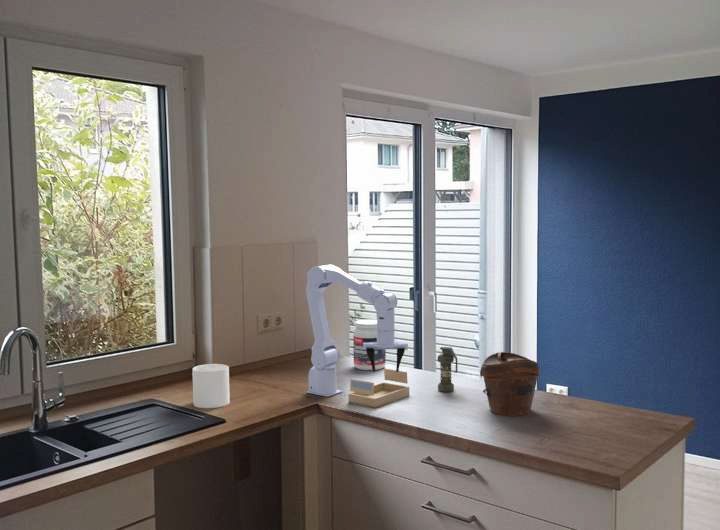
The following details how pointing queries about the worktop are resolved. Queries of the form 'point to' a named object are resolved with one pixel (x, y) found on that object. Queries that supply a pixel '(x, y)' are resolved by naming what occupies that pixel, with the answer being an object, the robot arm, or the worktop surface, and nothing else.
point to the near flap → (362, 387)
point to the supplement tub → (367, 334)
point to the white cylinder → (211, 386)
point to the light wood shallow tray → (380, 395)
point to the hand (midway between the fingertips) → (385, 371)
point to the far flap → (395, 376)
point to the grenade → (446, 369)
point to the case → (509, 383)
